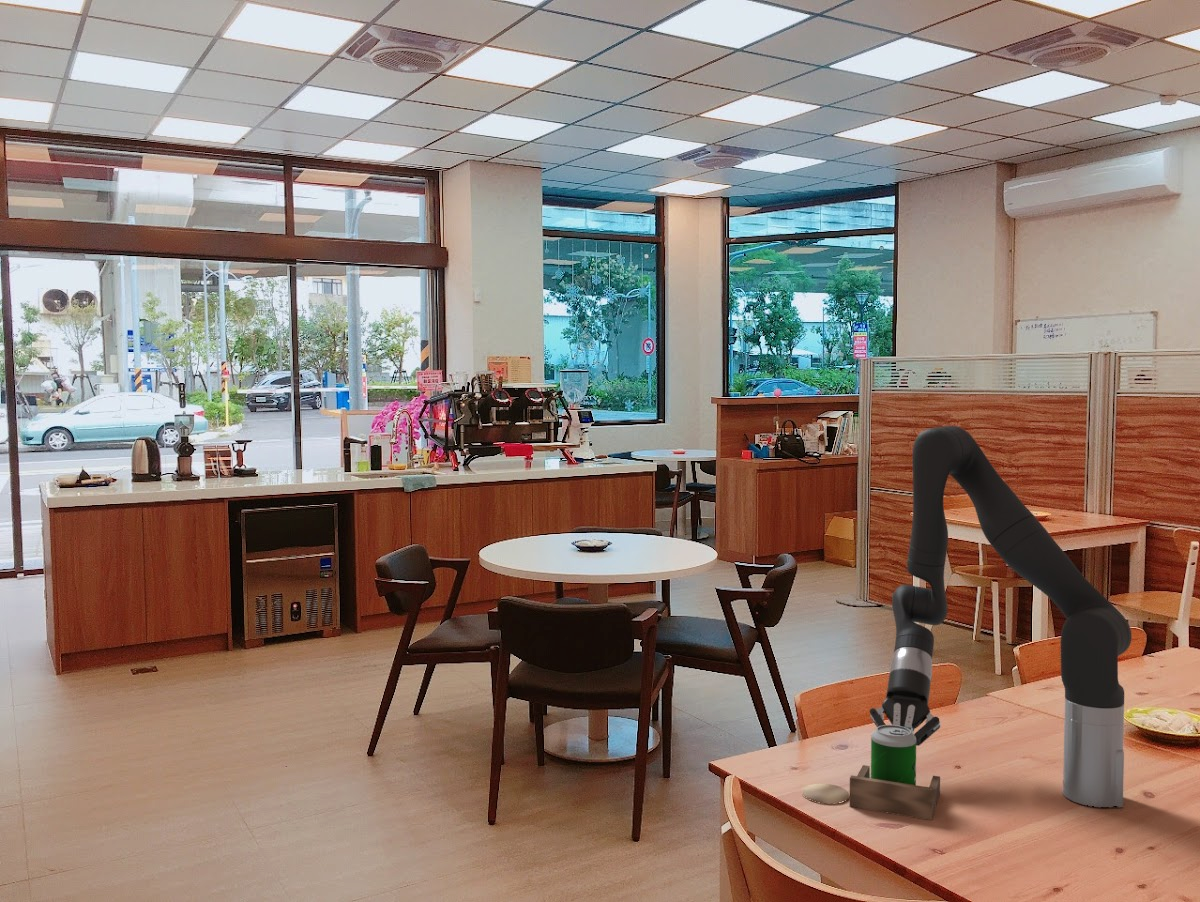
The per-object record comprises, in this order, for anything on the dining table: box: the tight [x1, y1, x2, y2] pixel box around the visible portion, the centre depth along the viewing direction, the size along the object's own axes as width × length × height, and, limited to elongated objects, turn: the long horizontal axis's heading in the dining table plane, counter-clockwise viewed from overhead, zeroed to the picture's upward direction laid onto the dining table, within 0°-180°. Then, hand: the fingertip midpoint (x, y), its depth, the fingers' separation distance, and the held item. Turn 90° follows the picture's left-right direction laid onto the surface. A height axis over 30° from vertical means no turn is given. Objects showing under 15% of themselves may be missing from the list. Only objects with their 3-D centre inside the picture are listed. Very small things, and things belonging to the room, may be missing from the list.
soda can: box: [870, 724, 917, 785], centre depth 173 cm, size 8×8×12 cm
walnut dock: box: [849, 764, 941, 821], centre depth 172 cm, size 13×12×5 cm
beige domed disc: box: [801, 783, 850, 804], centre depth 174 cm, size 8×8×1 cm
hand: (898, 762), depth 177 cm, fingers closed
